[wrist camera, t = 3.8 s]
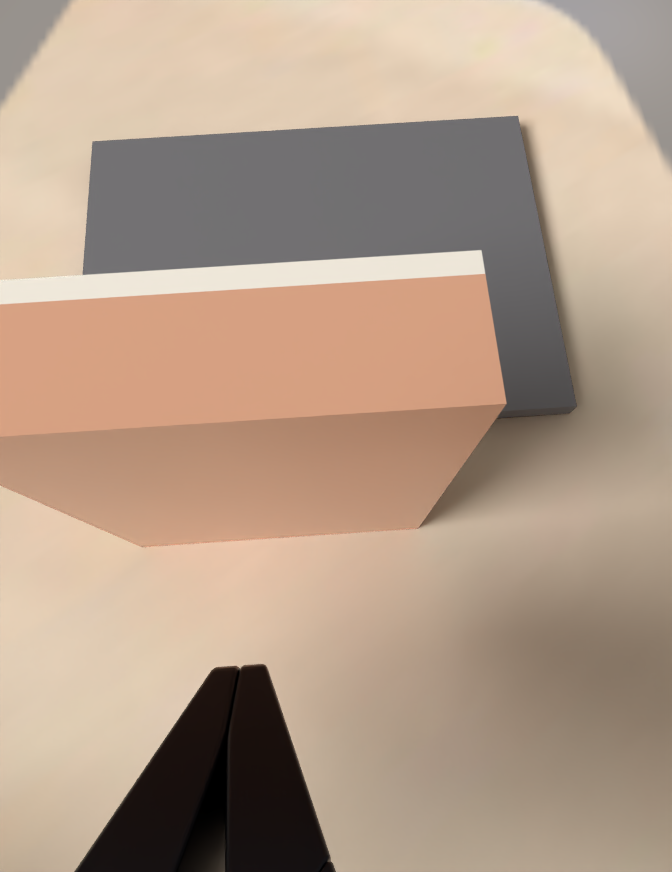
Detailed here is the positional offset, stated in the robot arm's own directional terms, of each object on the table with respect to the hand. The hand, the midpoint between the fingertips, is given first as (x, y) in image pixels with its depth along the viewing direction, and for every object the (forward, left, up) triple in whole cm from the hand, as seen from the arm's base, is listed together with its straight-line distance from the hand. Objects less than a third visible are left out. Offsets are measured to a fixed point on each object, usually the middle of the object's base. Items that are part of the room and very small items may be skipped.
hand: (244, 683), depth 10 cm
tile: (+5, 0, -7) cm, 9 cm away
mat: (+12, -1, -7) cm, 14 cm away
